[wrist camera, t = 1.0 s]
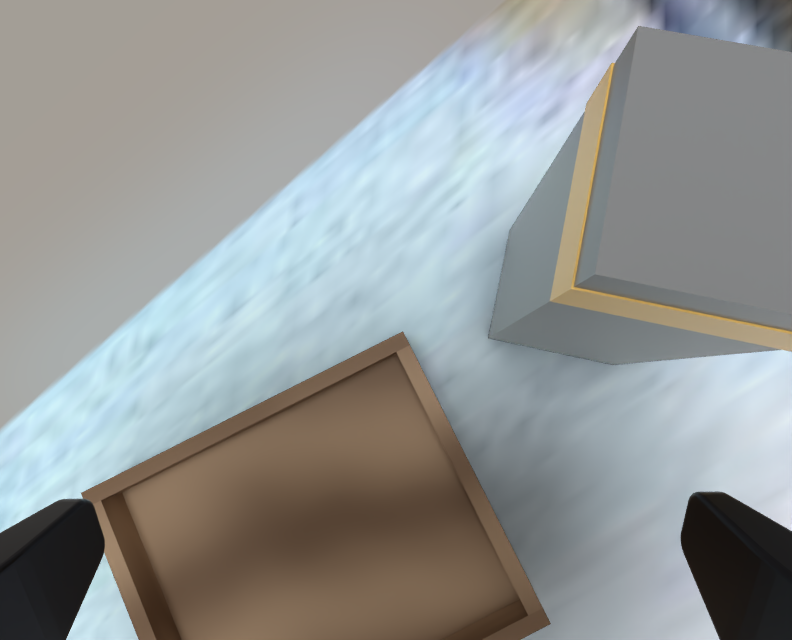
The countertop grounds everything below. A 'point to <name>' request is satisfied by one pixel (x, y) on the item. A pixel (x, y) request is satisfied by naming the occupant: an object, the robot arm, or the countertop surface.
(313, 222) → the countertop surface
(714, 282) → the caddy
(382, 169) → the countertop surface
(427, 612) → the tray
